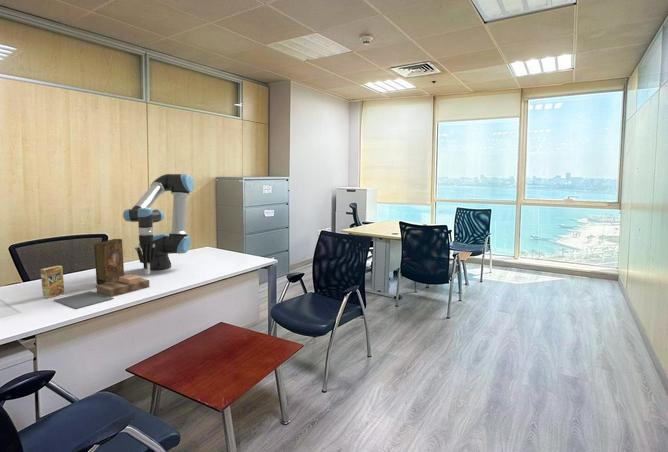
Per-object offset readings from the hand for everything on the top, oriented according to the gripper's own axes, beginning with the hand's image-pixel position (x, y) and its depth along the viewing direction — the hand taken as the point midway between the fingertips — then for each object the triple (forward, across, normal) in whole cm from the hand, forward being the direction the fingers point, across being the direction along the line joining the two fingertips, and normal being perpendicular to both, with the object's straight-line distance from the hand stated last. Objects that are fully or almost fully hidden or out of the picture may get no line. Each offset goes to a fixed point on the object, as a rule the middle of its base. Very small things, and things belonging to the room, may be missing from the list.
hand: (147, 273), depth 230 cm
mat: (+6, -36, 0) cm, 36 cm away
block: (+2, -11, 0) cm, 11 cm away
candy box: (+6, -41, +20) cm, 46 cm away
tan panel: (+6, -15, 0) cm, 16 cm away
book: (+6, -11, +19) cm, 23 cm away
